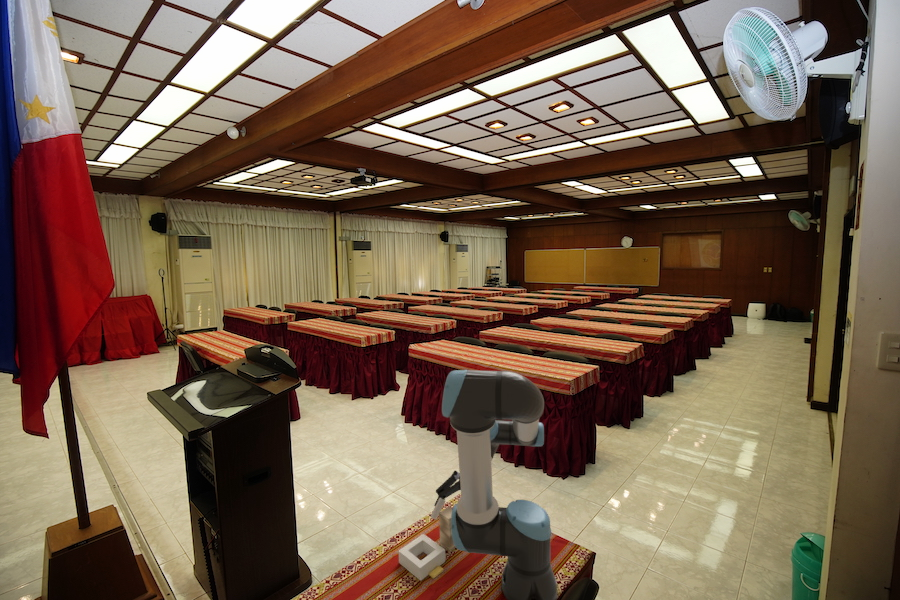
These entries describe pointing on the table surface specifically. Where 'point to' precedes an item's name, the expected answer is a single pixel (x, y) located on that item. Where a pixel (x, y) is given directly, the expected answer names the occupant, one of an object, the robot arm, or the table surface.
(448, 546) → the beech peg
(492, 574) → the table surface
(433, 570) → the socket block
